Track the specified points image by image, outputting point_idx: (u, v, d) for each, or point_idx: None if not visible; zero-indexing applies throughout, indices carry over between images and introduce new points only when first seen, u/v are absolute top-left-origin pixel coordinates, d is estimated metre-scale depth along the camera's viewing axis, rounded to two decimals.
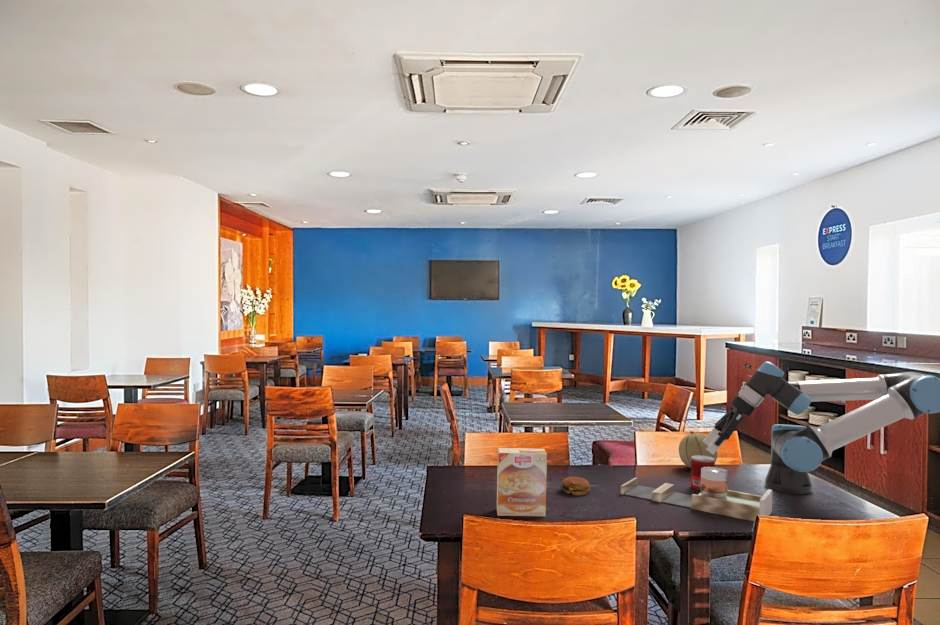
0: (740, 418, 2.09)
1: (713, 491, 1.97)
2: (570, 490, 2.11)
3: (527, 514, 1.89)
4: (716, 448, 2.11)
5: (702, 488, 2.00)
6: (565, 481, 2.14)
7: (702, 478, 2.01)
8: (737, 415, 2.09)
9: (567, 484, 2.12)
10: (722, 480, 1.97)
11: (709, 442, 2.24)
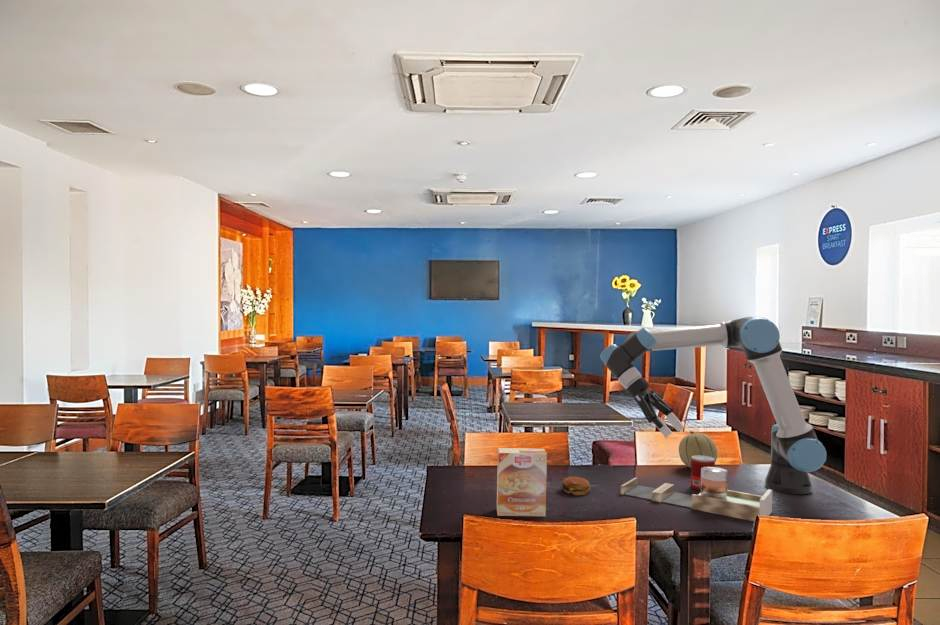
0: (639, 396, 2.09)
1: (713, 491, 1.97)
2: (570, 490, 2.11)
3: (527, 514, 1.89)
4: (665, 427, 2.04)
5: (702, 488, 2.00)
6: (565, 481, 2.14)
7: (702, 478, 2.01)
8: (636, 398, 2.10)
9: (567, 484, 2.13)
10: (722, 480, 1.97)
11: (680, 425, 2.14)
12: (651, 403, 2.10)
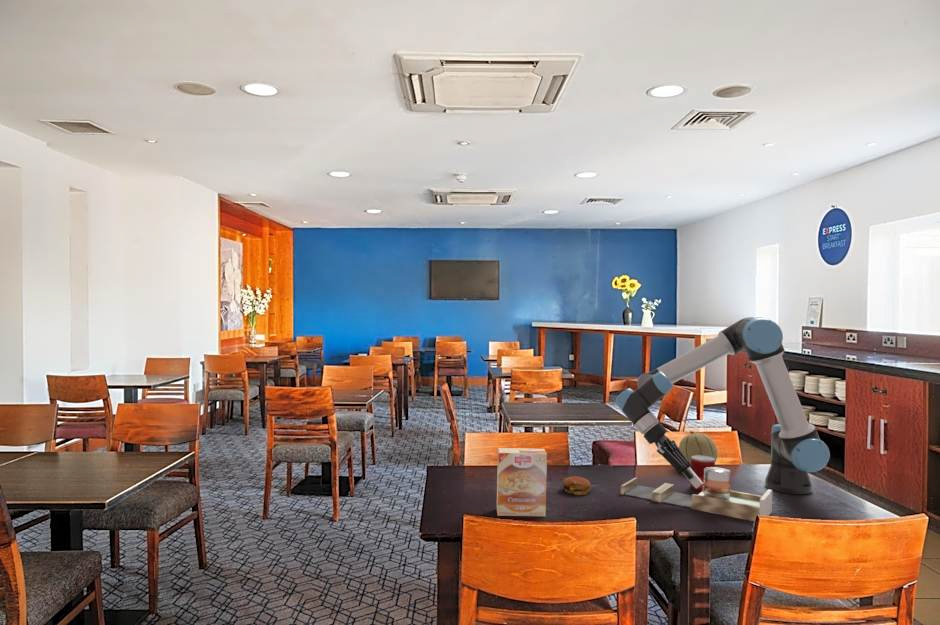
0: (663, 450, 2.04)
1: (716, 491, 1.97)
2: (571, 490, 2.12)
3: (527, 514, 1.89)
4: (695, 478, 2.03)
5: (705, 488, 2.00)
6: (566, 481, 2.14)
7: (705, 478, 2.00)
8: (659, 452, 2.05)
9: (568, 484, 2.13)
10: (725, 480, 1.97)
11: None
12: (673, 451, 2.07)
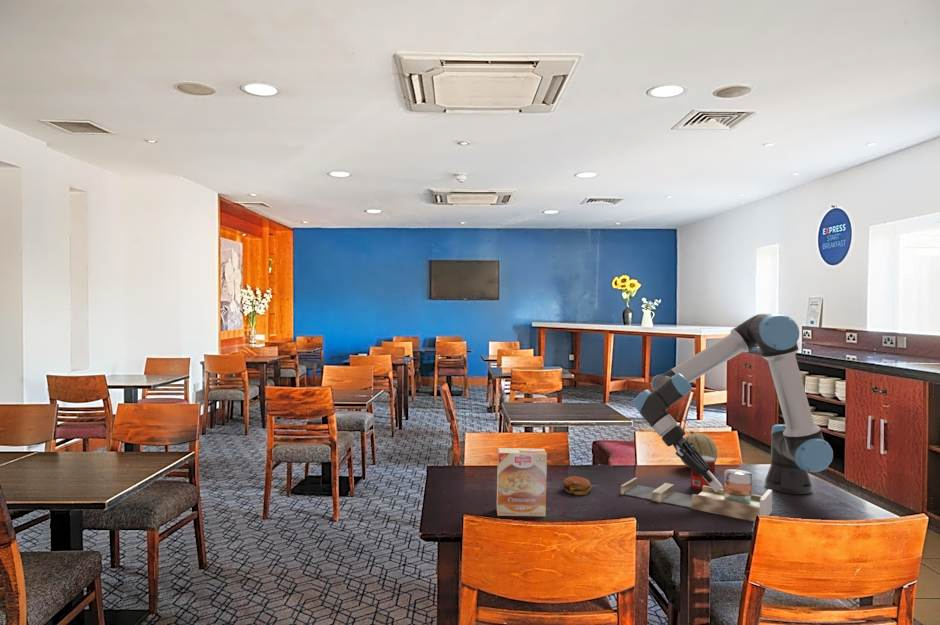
0: (682, 452, 2.01)
1: (741, 494, 1.94)
2: (571, 490, 2.12)
3: (527, 514, 1.89)
4: (715, 482, 2.00)
5: (728, 492, 1.96)
6: (566, 481, 2.15)
7: (728, 482, 1.97)
8: (678, 454, 2.01)
9: (568, 484, 2.13)
10: (749, 482, 1.95)
11: None
12: (692, 454, 2.04)
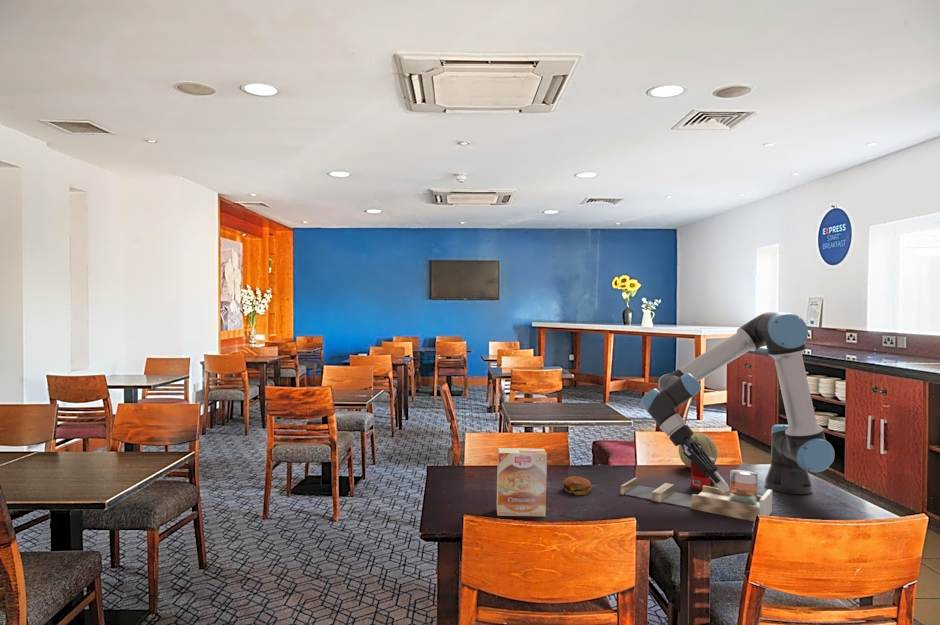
0: (689, 452, 1.99)
1: (752, 494, 1.94)
2: (571, 490, 2.12)
3: (527, 514, 1.89)
4: (723, 483, 1.97)
5: (739, 493, 1.94)
6: (566, 481, 2.15)
7: (739, 483, 1.94)
8: (686, 454, 1.99)
9: (568, 484, 2.13)
10: None
11: None
12: (700, 454, 2.02)
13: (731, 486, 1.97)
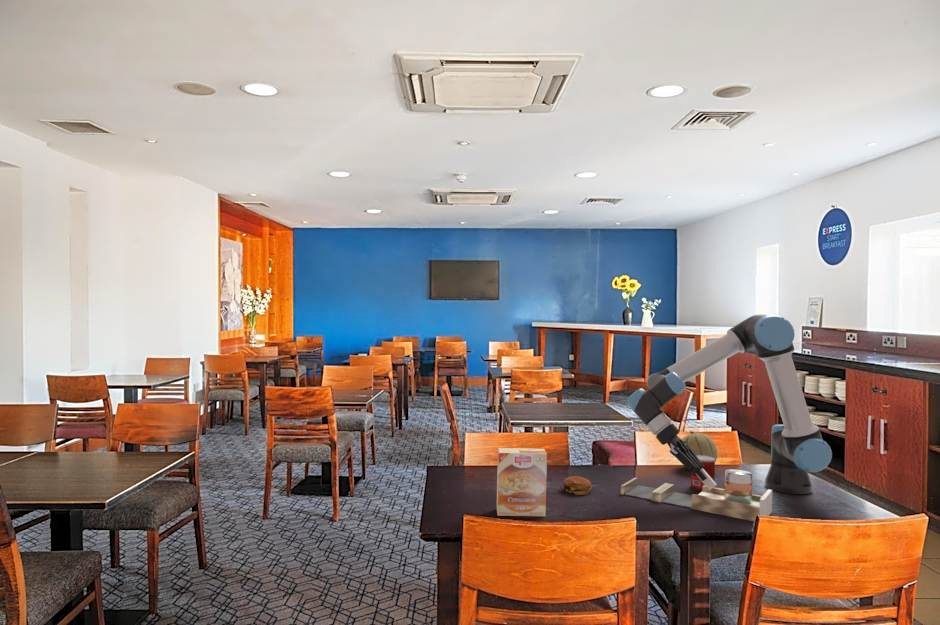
0: (676, 450, 2.02)
1: (742, 494, 1.94)
2: (571, 490, 2.12)
3: (527, 514, 1.89)
4: (709, 480, 2.01)
5: (729, 492, 1.96)
6: (567, 481, 2.15)
7: (729, 482, 1.96)
8: (673, 452, 2.03)
9: (569, 484, 2.13)
10: (750, 482, 1.95)
11: None
12: (686, 452, 2.05)
13: None
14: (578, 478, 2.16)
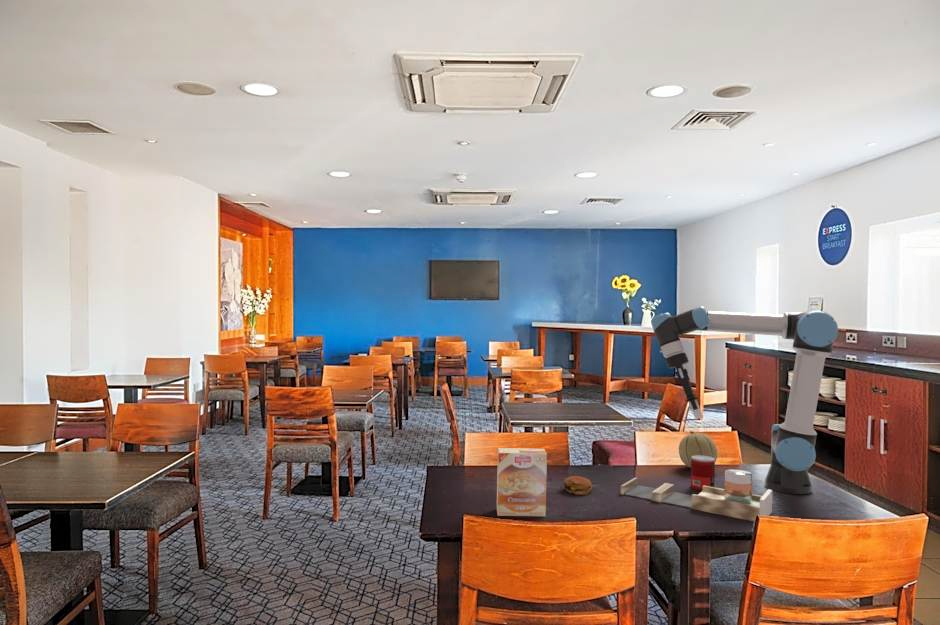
0: (683, 375, 2.15)
1: (742, 495, 1.94)
2: (572, 489, 2.12)
3: (527, 514, 1.89)
4: (699, 411, 2.17)
5: (729, 492, 1.96)
6: (567, 480, 2.15)
7: (729, 482, 1.96)
8: (679, 376, 2.16)
9: (569, 483, 2.13)
10: (750, 483, 1.95)
11: None
12: (688, 381, 2.19)
13: None
14: (578, 478, 2.16)
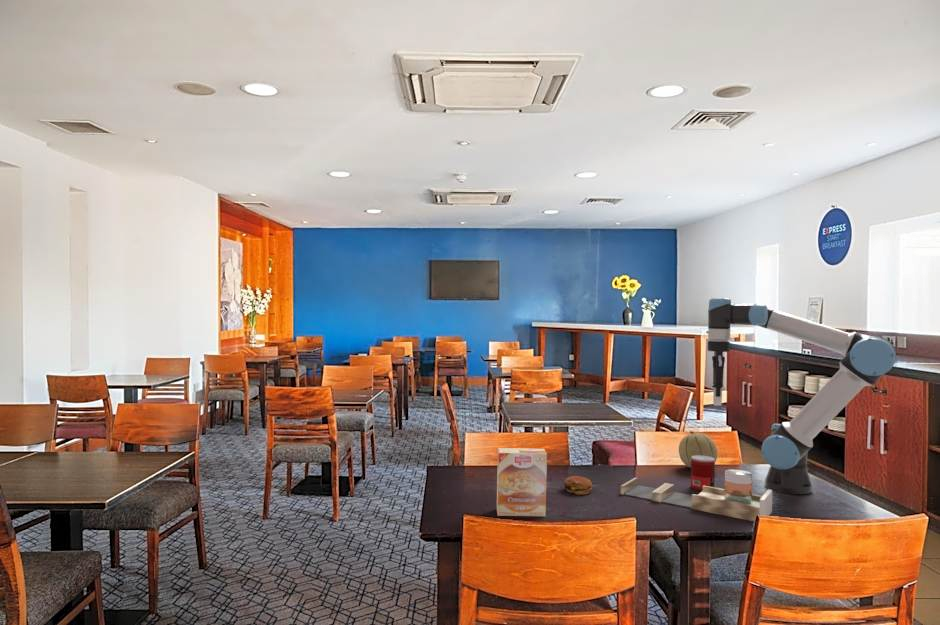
0: (722, 364, 2.19)
1: (742, 495, 1.94)
2: (572, 489, 2.12)
3: (527, 514, 1.89)
4: (720, 399, 2.24)
5: (729, 492, 1.96)
6: (567, 480, 2.15)
7: (729, 482, 1.96)
8: (718, 363, 2.19)
9: (569, 483, 2.13)
10: (750, 483, 1.95)
11: None
12: None
13: None
14: (579, 478, 2.17)
